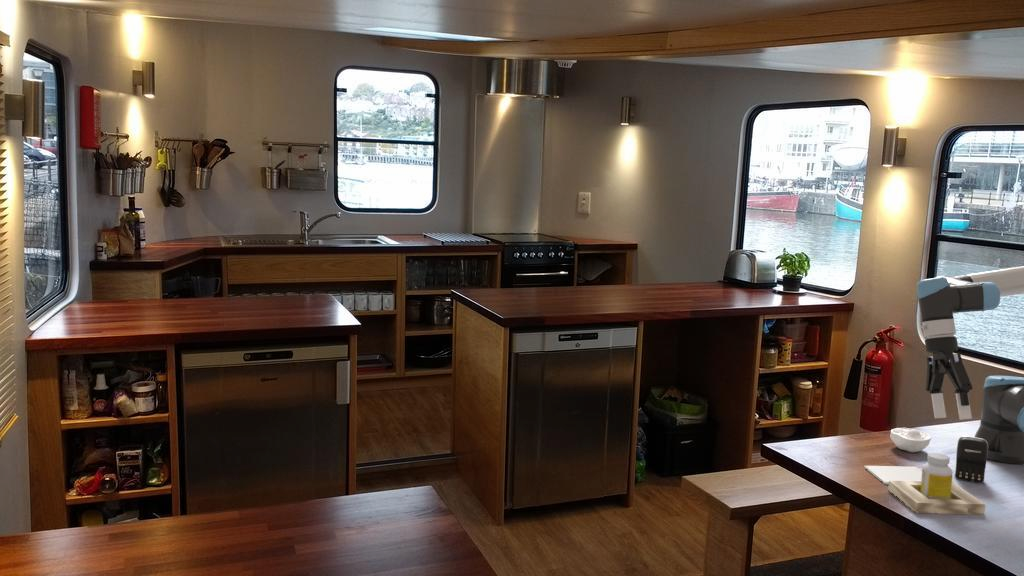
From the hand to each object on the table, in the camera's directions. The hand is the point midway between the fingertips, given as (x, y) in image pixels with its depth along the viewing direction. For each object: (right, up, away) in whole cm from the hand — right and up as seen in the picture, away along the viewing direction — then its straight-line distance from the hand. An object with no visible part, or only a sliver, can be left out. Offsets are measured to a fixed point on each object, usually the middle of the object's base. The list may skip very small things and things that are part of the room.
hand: (952, 418), depth 208 cm
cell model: (+1, -13, +26) cm, 29 cm away
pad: (-12, -16, +4) cm, 20 cm away
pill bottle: (-12, -18, -13) cm, 25 cm away
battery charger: (+5, -17, +2) cm, 18 cm away
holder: (-12, -18, -13) cm, 25 cm away
